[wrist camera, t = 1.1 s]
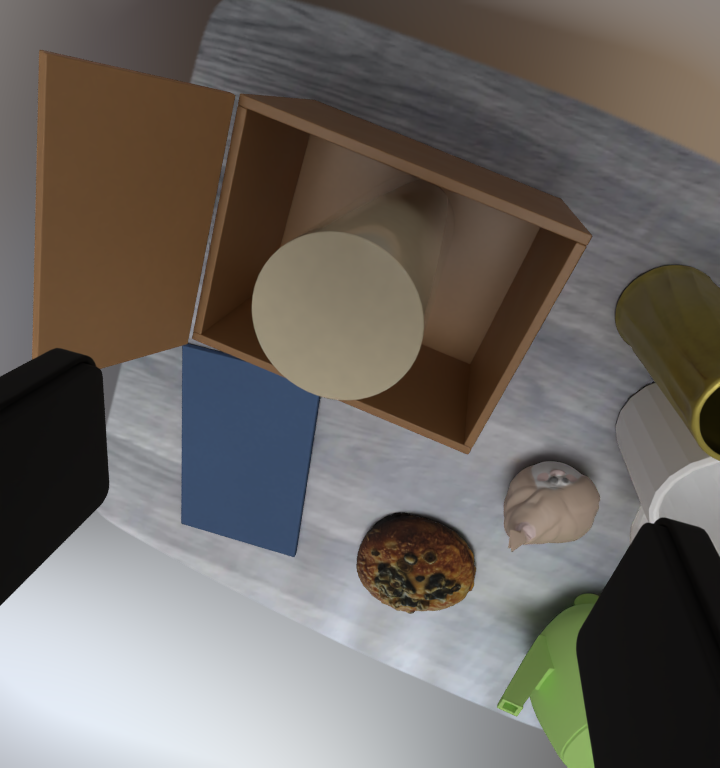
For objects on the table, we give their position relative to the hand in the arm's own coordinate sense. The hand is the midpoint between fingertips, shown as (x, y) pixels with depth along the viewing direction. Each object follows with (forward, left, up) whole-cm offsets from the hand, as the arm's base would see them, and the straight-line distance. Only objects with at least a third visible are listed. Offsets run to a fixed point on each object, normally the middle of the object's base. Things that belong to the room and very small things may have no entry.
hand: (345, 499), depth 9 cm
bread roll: (+26, -17, -30) cm, 43 cm away
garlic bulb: (+22, -3, -30) cm, 37 cm away
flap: (-7, -10, -14) cm, 19 cm away
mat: (+10, -26, -30) cm, 41 cm away
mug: (+22, +6, -30) cm, 38 cm away
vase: (+12, +9, -30) cm, 34 cm away
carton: (0, -4, -30) cm, 30 cm away
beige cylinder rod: (-1, -3, -29) cm, 30 cm away
